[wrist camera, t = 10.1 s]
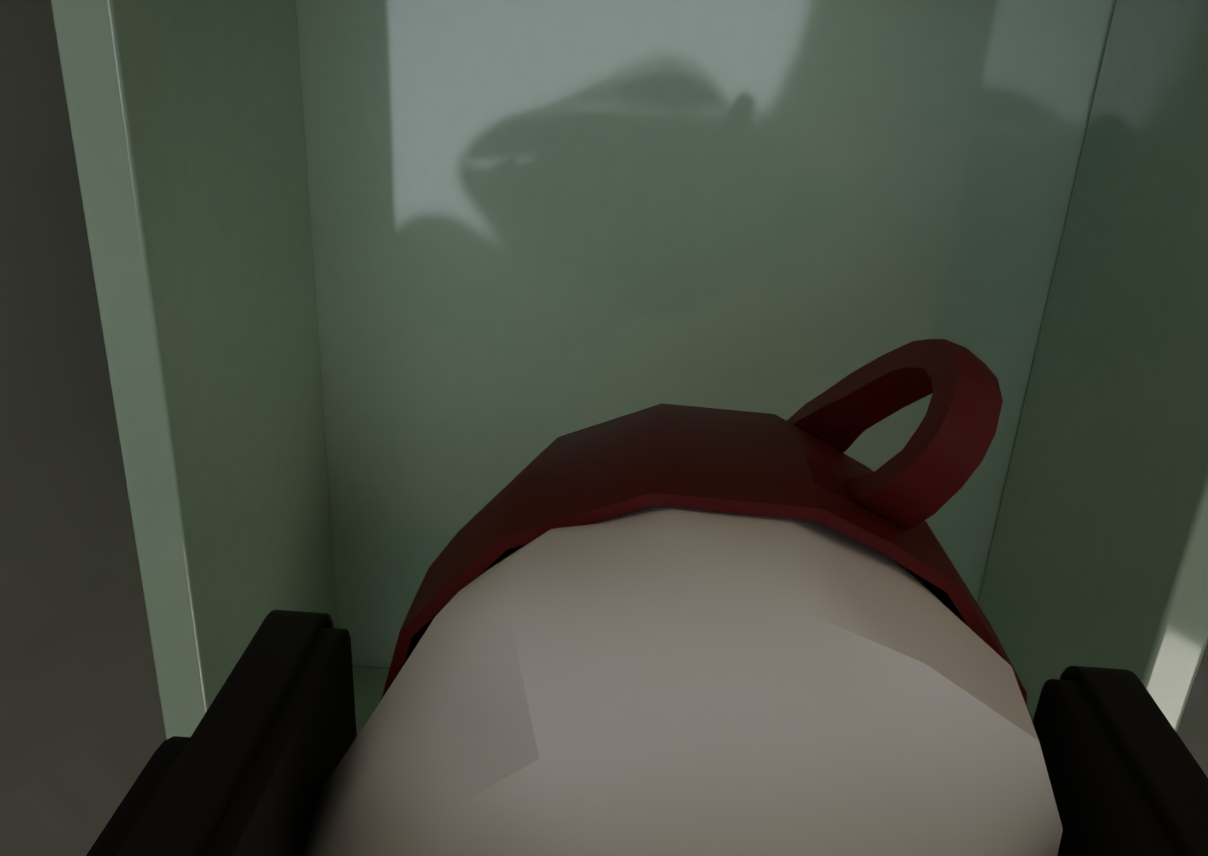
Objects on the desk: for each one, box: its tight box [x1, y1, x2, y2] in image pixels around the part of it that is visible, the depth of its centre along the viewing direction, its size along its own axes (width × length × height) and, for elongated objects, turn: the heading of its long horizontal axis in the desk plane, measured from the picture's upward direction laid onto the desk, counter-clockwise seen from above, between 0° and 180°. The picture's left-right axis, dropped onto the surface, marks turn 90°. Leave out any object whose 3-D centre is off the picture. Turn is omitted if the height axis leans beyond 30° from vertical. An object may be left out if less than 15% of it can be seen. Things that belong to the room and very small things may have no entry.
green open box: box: [51, 0, 1208, 739], centre depth 19 cm, size 17×19×8 cm
